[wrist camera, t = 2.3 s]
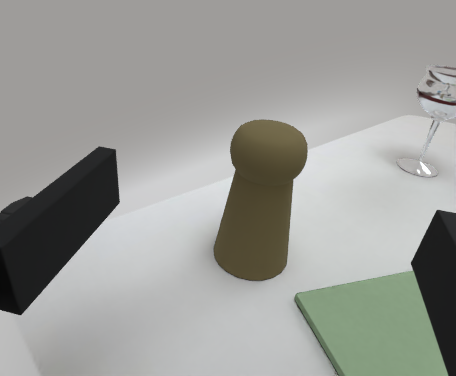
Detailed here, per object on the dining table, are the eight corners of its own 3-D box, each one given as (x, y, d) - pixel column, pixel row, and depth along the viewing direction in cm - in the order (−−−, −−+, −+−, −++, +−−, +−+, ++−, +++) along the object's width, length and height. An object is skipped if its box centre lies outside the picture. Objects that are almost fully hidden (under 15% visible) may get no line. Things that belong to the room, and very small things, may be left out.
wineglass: (456, 183, 44) (506, 84, 37) (401, 177, 43) (443, 77, 37) (430, 157, 49) (470, 68, 43) (382, 152, 49) (415, 62, 43)
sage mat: (415, 506, 16) (420, 501, 16) (294, 299, 26) (295, 293, 25) (585, 428, 20) (592, 423, 19) (424, 272, 29) (427, 267, 29)
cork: (294, 242, 31) (325, 122, 25) (276, 291, 26) (309, 156, 20) (229, 221, 32) (244, 104, 27) (200, 263, 28) (211, 131, 22)
